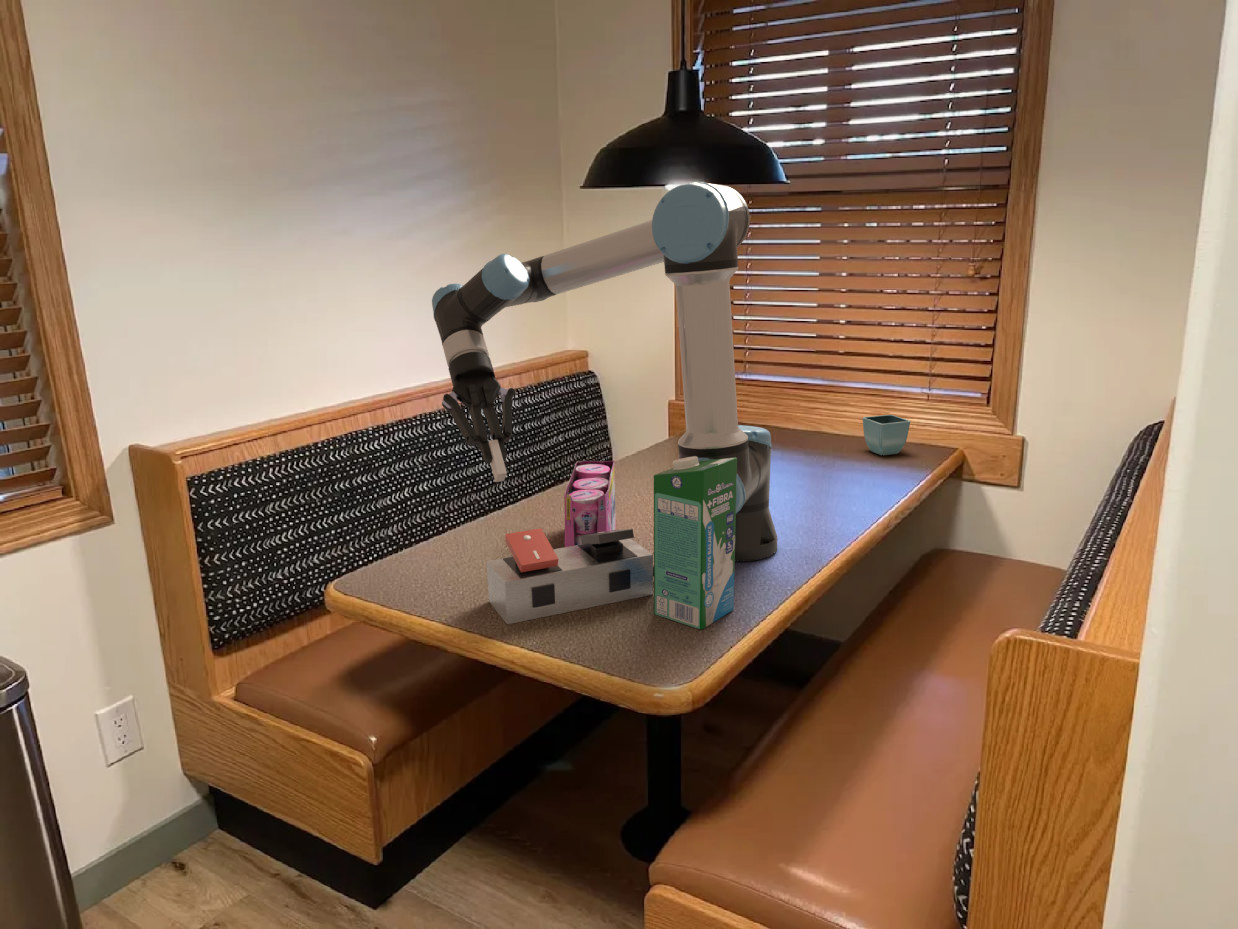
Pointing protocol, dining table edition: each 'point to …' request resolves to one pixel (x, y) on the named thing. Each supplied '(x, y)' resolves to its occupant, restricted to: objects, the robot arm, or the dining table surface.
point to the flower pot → (885, 433)
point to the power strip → (571, 580)
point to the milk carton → (695, 540)
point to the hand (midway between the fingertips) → (501, 477)
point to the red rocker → (531, 550)
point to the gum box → (589, 500)
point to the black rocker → (607, 536)
